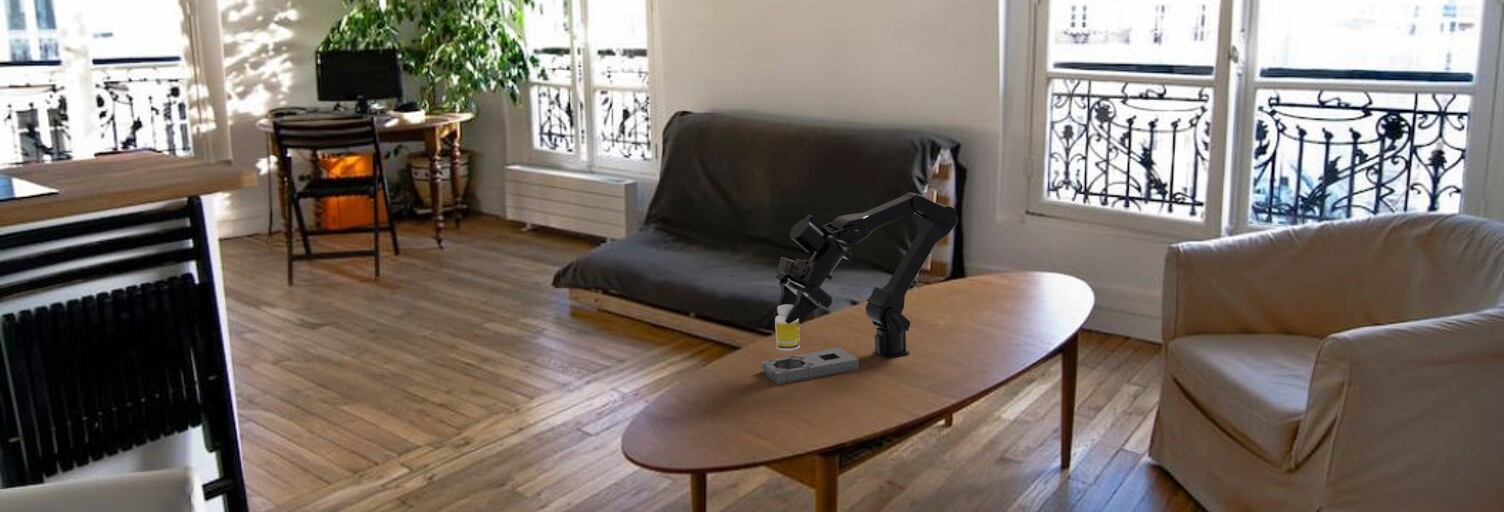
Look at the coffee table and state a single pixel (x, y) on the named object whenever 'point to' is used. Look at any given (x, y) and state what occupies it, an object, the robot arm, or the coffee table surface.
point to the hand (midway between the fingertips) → (781, 319)
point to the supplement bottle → (786, 330)
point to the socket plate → (809, 365)
